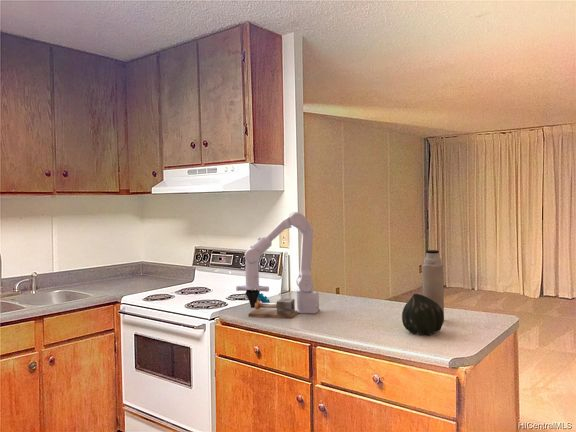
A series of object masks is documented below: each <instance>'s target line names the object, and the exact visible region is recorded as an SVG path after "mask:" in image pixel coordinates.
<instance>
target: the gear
mask: <svg viewBox="0 0 576 432" xmlns="http://www.w3.org/2000/svg"><path fill="white" fill-rule="evenodd" d="M256 301H260V303H271V300H270V299H269V298H268V297H267V295H264V293H262V292H260V293H259V295H258V297H257V300H256Z"/></svg>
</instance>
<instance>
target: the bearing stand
mask: <svg viewBox="0 0 576 432" xmlns="http://www.w3.org/2000/svg"><path fill="white" fill-rule="evenodd" d="M295 301H296V299H295V298H285V297H284V298H283V297H282V298H280V299H279V300H277V301H276V303H277V308H276V309H273V308H259V309H255V308H253V310H251V311H249V313H247V314H248V317H250V316H251V318H252V317H254V318H255V317H256V318H272V319H274V318H275V319H276V318H277V319H294V317H295V316H297V314H299V313H298V311H297V309H296V307H295V305H296V304H295V303H296V302H295ZM295 309H296V310H295Z"/></svg>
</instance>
